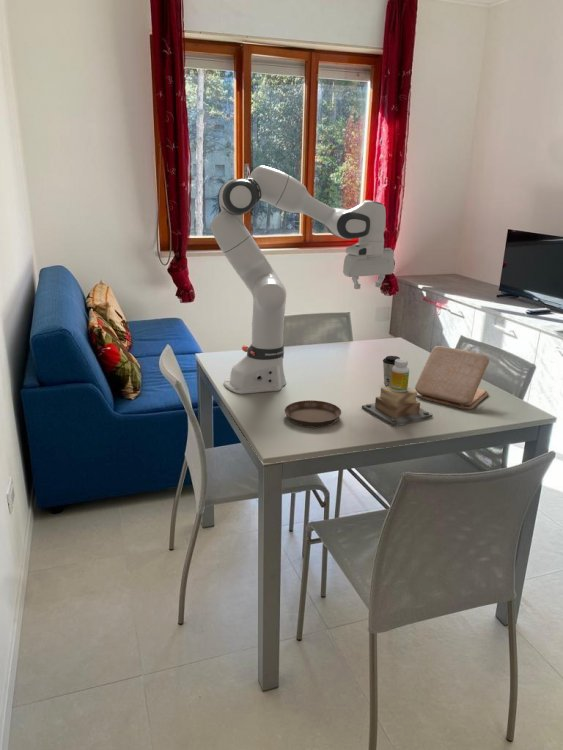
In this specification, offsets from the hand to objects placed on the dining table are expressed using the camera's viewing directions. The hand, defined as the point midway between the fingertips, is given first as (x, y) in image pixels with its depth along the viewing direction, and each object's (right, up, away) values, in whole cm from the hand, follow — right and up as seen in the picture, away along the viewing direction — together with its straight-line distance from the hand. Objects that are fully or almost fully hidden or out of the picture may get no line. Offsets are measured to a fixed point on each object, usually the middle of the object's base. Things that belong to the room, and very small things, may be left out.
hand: (367, 287), depth 210 cm
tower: (+6, -43, -21) cm, 48 cm away
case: (+29, -39, -4) cm, 49 cm away
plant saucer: (-21, -45, -26) cm, 57 cm away
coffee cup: (+9, -35, +6) cm, 36 cm away
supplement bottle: (+6, -36, -23) cm, 43 cm away
